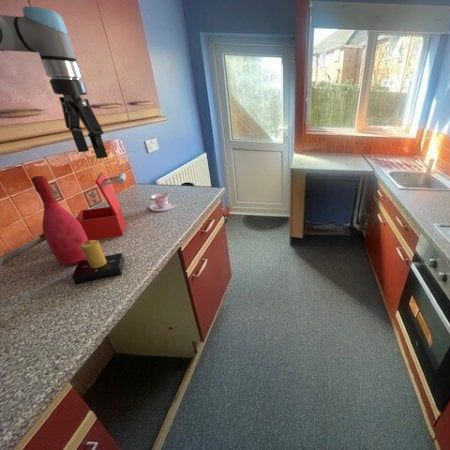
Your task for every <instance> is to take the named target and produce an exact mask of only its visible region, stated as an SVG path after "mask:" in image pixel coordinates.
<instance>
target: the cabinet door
mask: <svg viewBox="0 0 450 450" xmlns="http://www.w3.org/2000/svg"><path fill="white" fill-rule="evenodd" d="M126 178H127V175H126V173H124V172H120V173H119V174H118V175H116V176H111V177H106V175H105V173H104V172H103V171H102V172H100V173H99V174H98V176H97V177H96V179H95V181H94V183H95V184H96V186H97V187H98V189H99V191H100V193H101V194H102V195H103V198H104V199H105V201H106V203H107V204H108V207H110V208H111V209H112V211H113V213H114V215H117V214H118V211H119V207H121V202H120V201H119V199H118V196H117V195H116V193H115V192H114V190H113V187H112V186H111V185H112V184H115V183H118V184H120V185H122V184H124V183H125V180H126Z"/></svg>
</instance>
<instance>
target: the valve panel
mask: <svg viewBox="0 0 450 450" xmlns="http://www.w3.org/2000/svg"><path fill="white" fill-rule="evenodd" d="M104 256H105V259H106V261H107V263H106V264H105V265H103V266H101V267H99V268H91V267H90V265H89V263H88V261H87V260H83V261H79V262H78V263H77V264H76V266H75V269H74V270H73V271H74V272H73V274H72V276H71V279H72V281H73V282H74V285H76V286H78V285H81V284H86V283H90V282H91V283H92V282H94V281H99V280H105V279H108V278H112V277H118V276H122V274H123V271H124V263H125V258H124V257H125V256H124V255H123V252H119V253H114V254H109V255H104Z"/></svg>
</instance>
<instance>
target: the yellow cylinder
mask: <svg viewBox="0 0 450 450" xmlns="http://www.w3.org/2000/svg"><path fill="white" fill-rule="evenodd" d="M81 248H82V250H83V252H84V254H85V256H86V259H87V261H88V263H89V265H90V267H91V268H99V267H101V266H103V265H105V264H106V263H107V261H106V259H105V256H106V255H105V254H104V251H103V249H102V246H101V244H100V241H99V239H97V240H90V241H88V240H86V242H84V243H82V244H81Z"/></svg>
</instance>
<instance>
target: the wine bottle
mask: <svg viewBox="0 0 450 450" xmlns="http://www.w3.org/2000/svg"><path fill="white" fill-rule="evenodd" d="M31 182H32V184H33V187H34V189H35V191H36V192H37V193H38V194H39V195H40V197H41V200H42V205H43V216H42V234H43V237H44V240H45V241H46V243H47V245H48V247H49V249H50V250H51V252H52V254H53V256H54V257H55V259H56V260H57V262H58V263H59V265H62V266H71V265H78V262H79V261H83V260H87V259H86V256H85V254H84V252H83V250H82V248H81V244H82V243H84V242H86V240H88V239H87V236H86V234H85V232H84V229H83V227H82V226H81V224H80V223H79V222H78V220H77V219H76V217H75V216H74V215H72V214H71V212H69V211H67V210H66V209H65V208H64V207H63V206H62V205H61V204H60V203H59V202H58V200H56V198H55V196H54V194H53V193H52V187H51V185H50V183H49V182H48V178H47V177H46V176H44V175H36V176H32V178H31Z"/></svg>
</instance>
